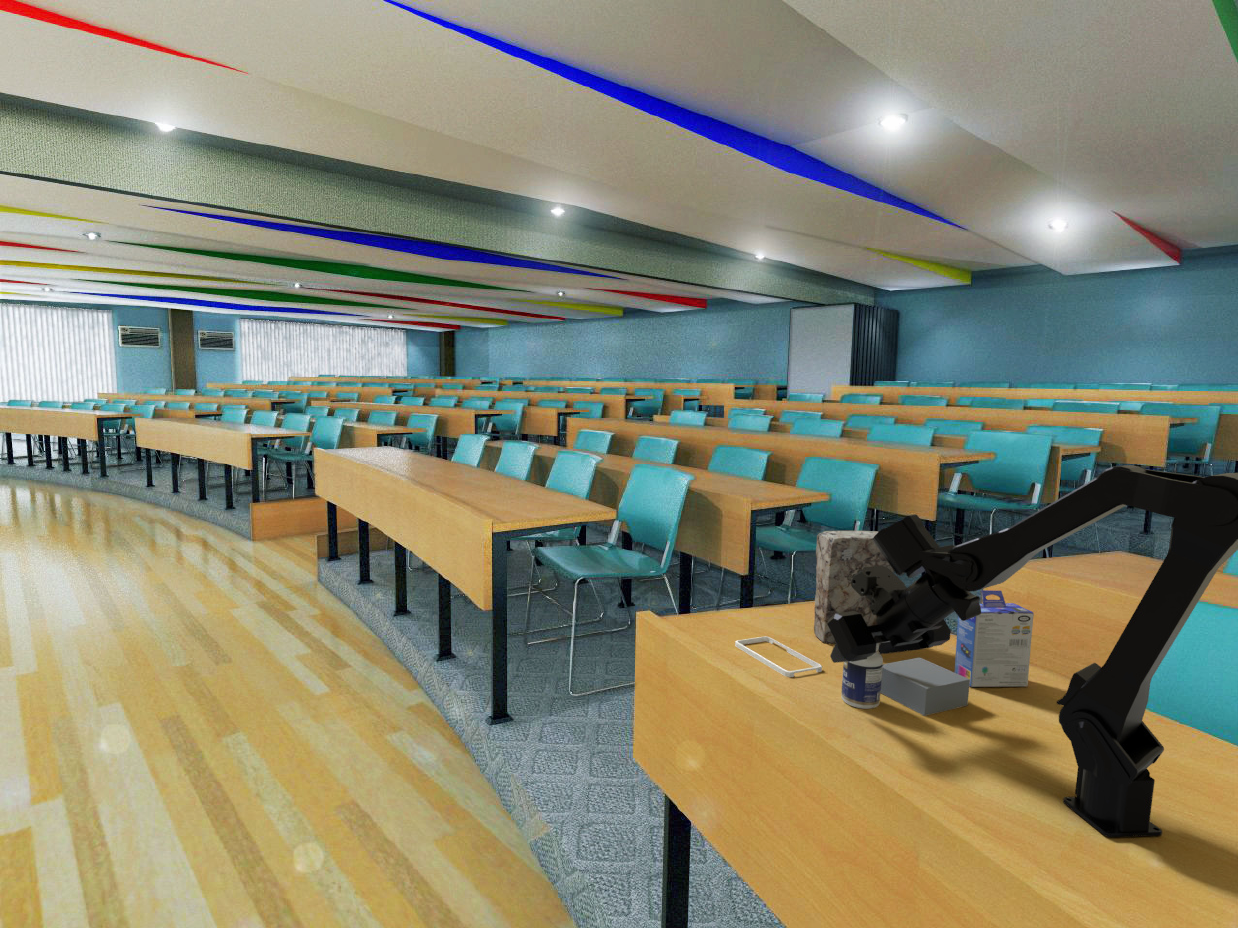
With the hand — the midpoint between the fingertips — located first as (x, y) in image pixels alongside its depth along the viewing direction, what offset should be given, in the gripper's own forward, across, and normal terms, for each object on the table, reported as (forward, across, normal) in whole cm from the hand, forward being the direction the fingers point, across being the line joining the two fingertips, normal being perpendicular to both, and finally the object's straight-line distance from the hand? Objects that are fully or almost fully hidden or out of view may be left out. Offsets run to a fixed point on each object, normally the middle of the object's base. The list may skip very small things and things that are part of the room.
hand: (856, 654), depth 103 cm
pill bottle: (+4, 0, +6) cm, 7 cm away
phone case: (+17, +1, -7) cm, 19 cm away
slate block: (+2, -10, +7) cm, 12 cm away
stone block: (+19, -18, -9) cm, 28 cm away
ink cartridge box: (+2, -26, +7) cm, 27 cm away
